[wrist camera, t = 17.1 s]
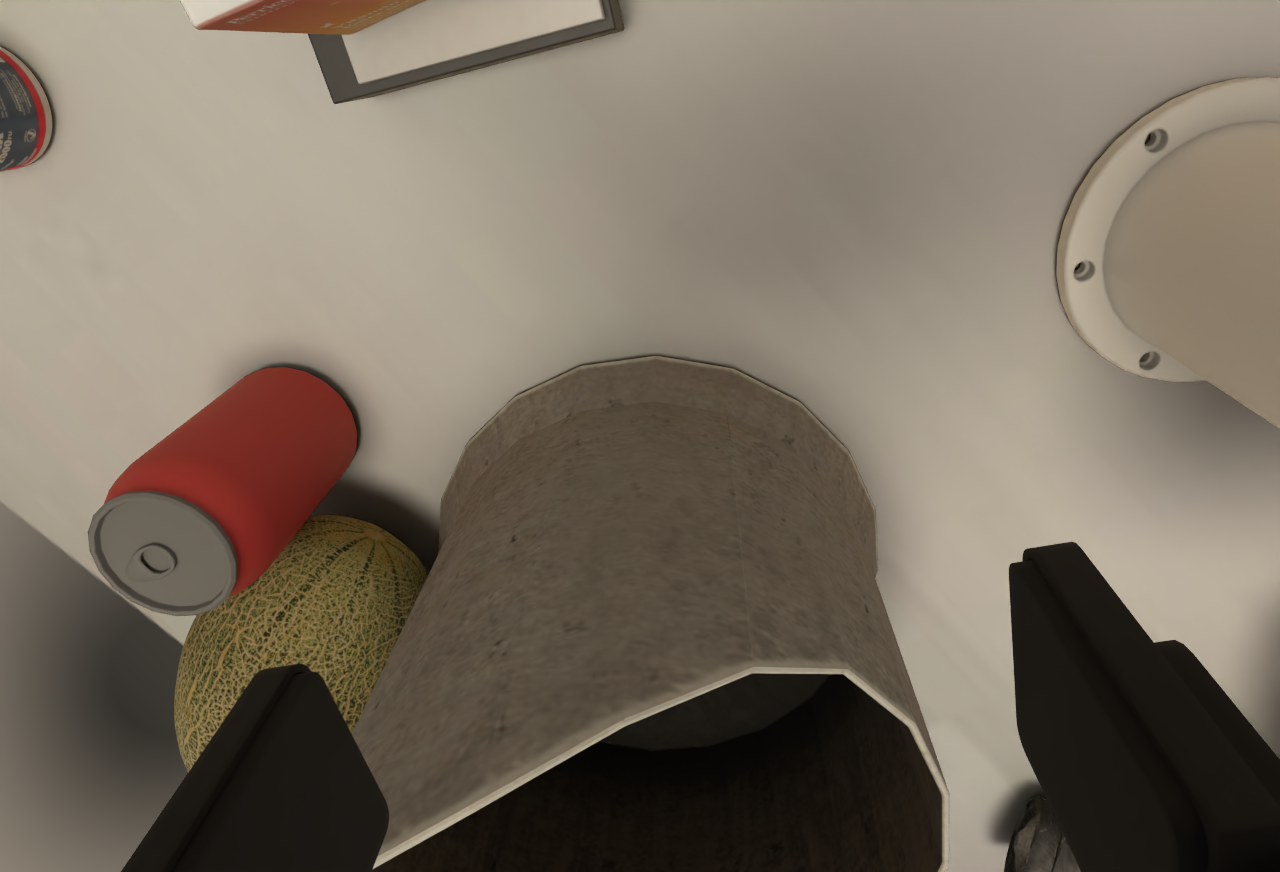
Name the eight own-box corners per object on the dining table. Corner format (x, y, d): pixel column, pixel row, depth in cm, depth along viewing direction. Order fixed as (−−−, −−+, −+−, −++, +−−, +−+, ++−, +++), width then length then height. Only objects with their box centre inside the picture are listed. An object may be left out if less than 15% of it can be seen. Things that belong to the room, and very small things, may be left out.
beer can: (205, 403, 41) (35, 532, 31) (300, 338, 39) (155, 451, 29) (294, 500, 44) (165, 652, 33) (388, 442, 42) (284, 584, 31)
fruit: (433, 605, 34) (288, 920, 35) (502, 562, 45) (391, 801, 46) (198, 487, 35) (61, 796, 36) (323, 473, 46) (217, 709, 47)
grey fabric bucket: (657, 256, 37) (608, 604, 14) (1058, 663, 45) (1422, 1276, 23) (354, 553, 45) (16, 1076, 22) (745, 850, 53) (787, 1441, 31)
